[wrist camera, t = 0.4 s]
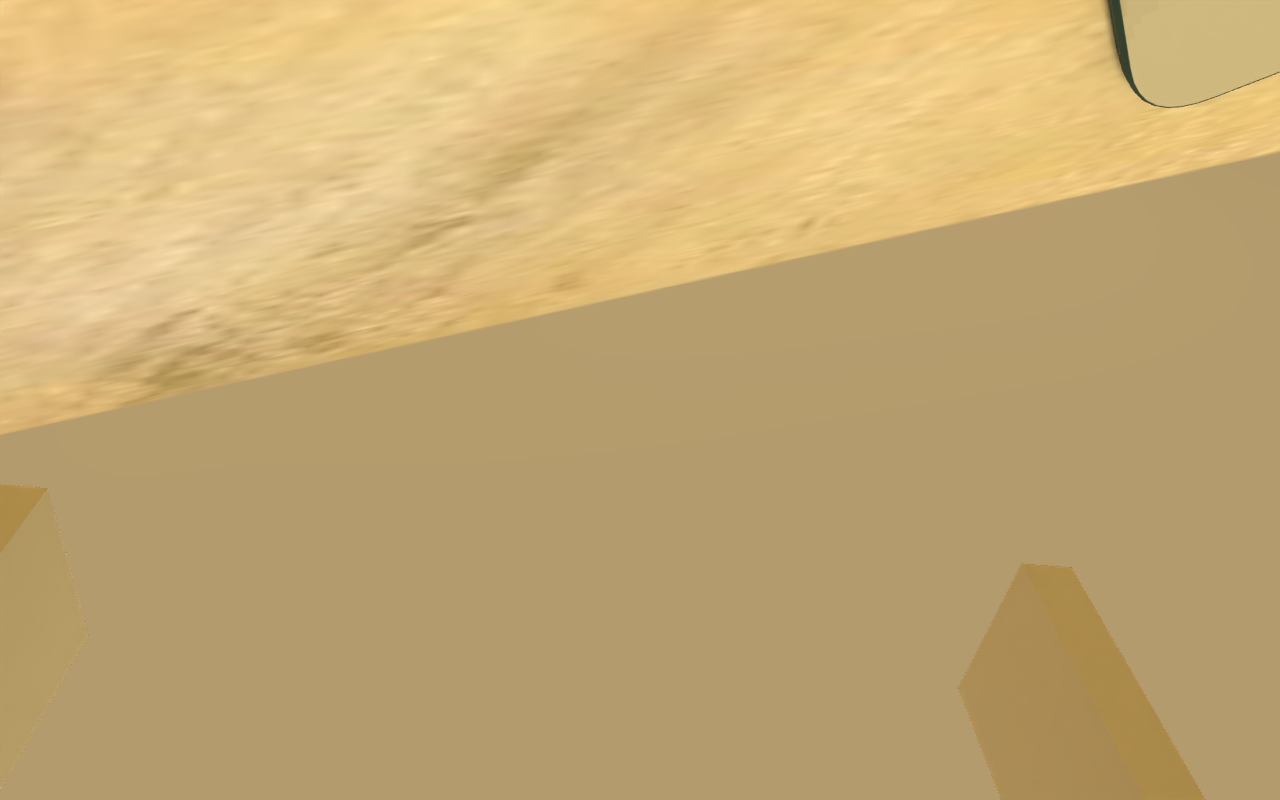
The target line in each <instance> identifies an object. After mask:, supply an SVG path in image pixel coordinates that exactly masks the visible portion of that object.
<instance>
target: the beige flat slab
mask: <svg viewBox="0 0 1280 800" xmlns="http://www.w3.org/2000/svg"><path fill="white" fill-rule="evenodd" d="M1108 1H1109V7H1110V12H1111V18H1112V24H1113V30H1114V36H1115V41H1116V47H1117V52H1118V56H1119V59H1120V63H1121V67H1122V70H1123V73H1124V75H1125V77H1126V79H1127V81H1128V83H1129V84H1130V86H1131V88H1132V89H1133V91H1134V92H1135V93H1136V94H1137V95H1138V96H1139V97H1140V98H1141V99H1142V100H1143V101H1145V102H1147V103H1149V104H1151V105H1153V106H1159V107H1165V108H1174V107H1183V106H1188V105H1193V104H1197V103H1200V102H1203V101H1206V100H1209V99H1212V98H1215V97H1217V96H1220V95H1223V94H1225V93H1228V92H1230V91H1233V90H1235V89H1238V88H1241V87H1243V86H1246V85H1248V84H1251V83H1254V82H1256V81H1259V80H1261V79H1264V78H1267V77H1269V76H1272V75H1274V74H1277V73H1279V72H1280V0H1108Z"/></svg>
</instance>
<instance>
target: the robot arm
mask: <svg viewBox="0 0 1280 800" xmlns="http://www.w3.org/2000/svg"><path fill="white" fill-rule="evenodd" d="M87 636H88V631H87V628H86V624H85V620H84V617H83V613H82V609H81V606H80V602H79V599H78V595H77V591H76V588H75V584H74V580H73V577H72V574H71V570H70V566H69V562H68V559H67V555H66V552H65V548H64V544H63V541H62V537H61V533H60V530H59V526H58V523H57V519H56V516H55V512H54V508H53V505H52V501H51V497H50V493H49V490H48V488H40V487H27V486H14V485H1V484H0V790H1V788H2V787H3V785H4V783H5V782H6V780H7V778H8V776H9V774H10V773H11V771H12V769H13V767H14V766H15V764H16V762H17V760H18V759H19V757H20V755H21V753H22V751H23V750H24V748H25V746H26V744H27V743H28V741H29V739H30V737H31V736H32V734H33V732H34V730H35V728H36V727H37V725H38V723H39V721H40V719H41V718H42V716H43V714H44V712H45V711H46V709H47V707H48V705H49V704H50V702H51V700H52V698H53V697H54V695H55V693H56V691H57V689H58V688H59V686H60V684H61V682H62V681H63V678H64V677H65V675H66V674H67V672H68V670H69V668H70V666H71V665H72V663H73V661H74V659H75V657H76V656H77V654H78V652H79V651H80V649H81V647H82V645H83V643H84V642H85V640H86V638H87ZM958 689H959V692H960V695H961V697H962V700H963V702H964V705H965V708H966V710H967V713H968V715H969V718H970V721H971V723H972V726H973V728H974V731H975V734H976V736H977V739H978V741H979V744H980V747H981V749H982V752H983V754H984V757H985V760H986V762H987V765H988V767H989V770H990V772H991V775H992V778H993V780H994V783H995V786H996V788H997V791H998V793H999V796H1000V799H1001V800H1206V799H1205V798H1204V796H1203V794H1202V792H1201V790H1200V789H1199V787H1198V785H1197V784H1196V782H1195V780H1194V778H1193V777H1192V775H1191V774H1190V771H1189V770H1188V768H1187V766H1186V765H1185V763H1184V761H1183V759H1182V758H1181V756H1180V754H1179V752H1178V751H1177V749H1176V747H1175V745H1174V744H1173V742H1172V740H1171V739H1170V737H1169V735H1168V733H1167V732H1166V730H1165V728H1164V727H1163V725H1162V723H1161V722H1160V720H1159V718H1158V716H1157V714H1156V713H1155V711H1154V709H1153V707H1152V706H1151V704H1150V702H1149V701H1148V699H1147V697H1146V695H1145V694H1144V692H1143V690H1142V688H1141V687H1140V685H1139V683H1138V681H1137V680H1136V678H1135V676H1134V675H1133V673H1132V671H1131V669H1130V668H1129V666H1128V664H1127V662H1126V661H1125V659H1124V657H1123V655H1122V654H1121V652H1120V650H1119V648H1118V647H1117V645H1116V643H1115V642H1114V640H1113V638H1112V637H1111V635H1110V633H1109V631H1108V629H1107V628H1106V626H1105V624H1104V623H1103V621H1102V619H1101V617H1100V616H1099V614H1098V612H1097V610H1096V609H1095V607H1094V605H1093V603H1092V602H1091V600H1090V598H1089V597H1088V595H1087V593H1086V591H1085V590H1084V588H1083V586H1082V585H1081V583H1080V581H1079V579H1078V578H1077V576H1076V574H1075V572H1074V571H1073V569H1072V567H1060V566H1047V565H1034V564H1021V566H1020V567H1019V569H1018V571H1017V573H1016V575H1015V577H1014V580H1013V581H1012V583H1011V585H1010V587H1009V589H1008V591H1007V593H1006V595H1005V597H1004V599H1003V601H1002V603H1001V605H1000V607H999V609H998V611H997V612H996V614H995V616H994V618H993V620H992V622H991V624H990V626H989V628H988V630H987V632H986V634H985V636H984V638H983V640H982V642H981V644H980V646H979V648H978V650H977V652H976V654H975V656H974V658H973V659H972V662H971V664H970V665H969V668H968V669H967V671H966V673H965V675H964V677H963V679H962V681H961V683H960V685H959V687H958Z"/></svg>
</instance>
